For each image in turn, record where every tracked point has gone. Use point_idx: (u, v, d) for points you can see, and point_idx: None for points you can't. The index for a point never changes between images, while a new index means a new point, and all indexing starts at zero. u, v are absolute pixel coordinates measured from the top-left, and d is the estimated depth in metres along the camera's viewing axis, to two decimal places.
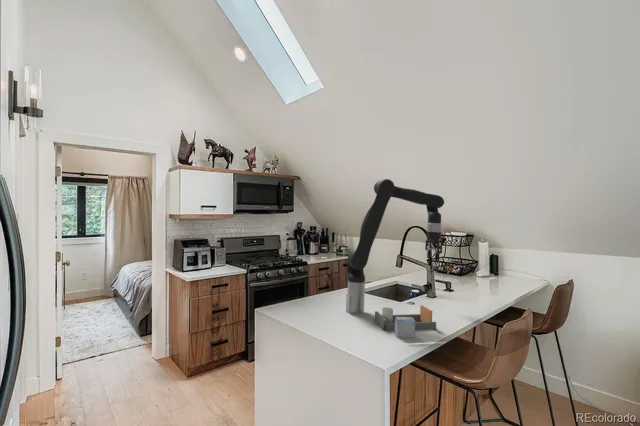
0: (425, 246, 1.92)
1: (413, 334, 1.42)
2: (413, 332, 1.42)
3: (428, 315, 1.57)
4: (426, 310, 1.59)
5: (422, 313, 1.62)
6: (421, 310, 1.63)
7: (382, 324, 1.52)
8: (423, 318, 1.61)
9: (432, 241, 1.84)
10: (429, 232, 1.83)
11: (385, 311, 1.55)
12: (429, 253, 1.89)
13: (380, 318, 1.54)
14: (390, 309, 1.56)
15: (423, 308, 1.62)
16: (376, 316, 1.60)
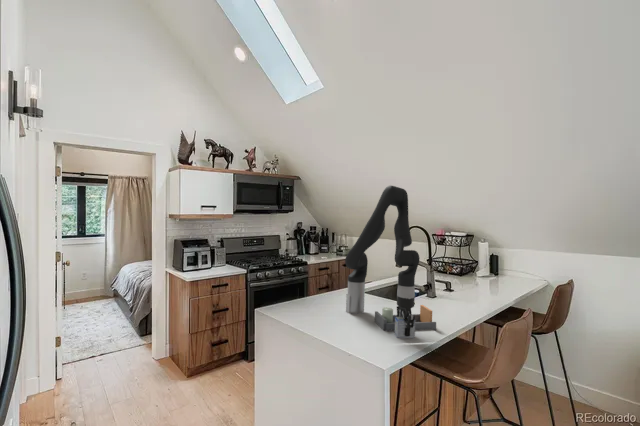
0: (397, 315, 1.50)
1: (413, 334, 1.42)
2: (413, 332, 1.42)
3: (428, 315, 1.57)
4: (426, 310, 1.59)
5: (422, 313, 1.62)
6: (421, 310, 1.63)
7: (382, 324, 1.52)
8: (423, 318, 1.61)
9: (403, 309, 1.43)
10: (399, 298, 1.42)
11: (385, 311, 1.55)
12: None
13: (380, 318, 1.54)
14: (390, 309, 1.56)
15: (423, 308, 1.62)
16: (376, 316, 1.60)
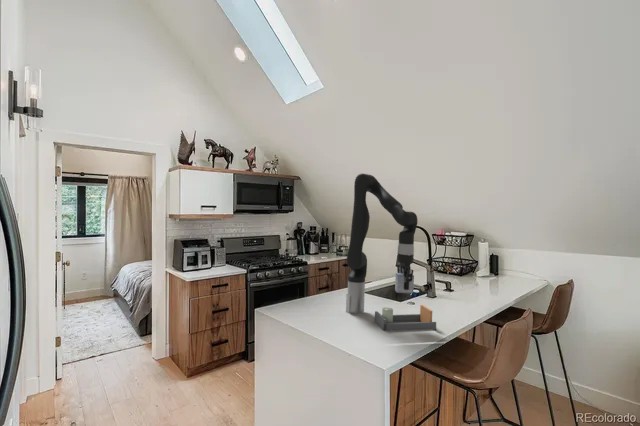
0: (397, 272, 1.63)
1: (412, 288, 1.55)
2: (412, 286, 1.55)
3: (428, 315, 1.57)
4: (426, 310, 1.59)
5: (422, 313, 1.62)
6: (421, 310, 1.63)
7: (382, 324, 1.52)
8: (423, 318, 1.61)
9: (403, 265, 1.56)
10: (399, 255, 1.55)
11: (385, 311, 1.55)
12: None
13: (380, 318, 1.54)
14: (390, 309, 1.56)
15: (423, 308, 1.62)
16: (376, 316, 1.60)
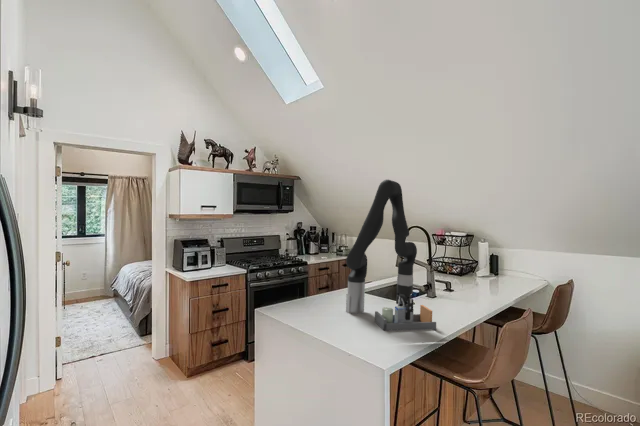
0: (396, 299, 1.65)
1: (411, 321, 1.56)
2: (411, 319, 1.56)
3: (428, 315, 1.57)
4: (426, 310, 1.59)
5: (422, 313, 1.62)
6: (421, 310, 1.63)
7: (382, 324, 1.52)
8: (423, 318, 1.61)
9: (403, 295, 1.57)
10: (399, 285, 1.56)
11: (385, 311, 1.55)
12: None
13: (380, 318, 1.54)
14: (390, 309, 1.56)
15: (423, 308, 1.62)
16: (376, 316, 1.60)
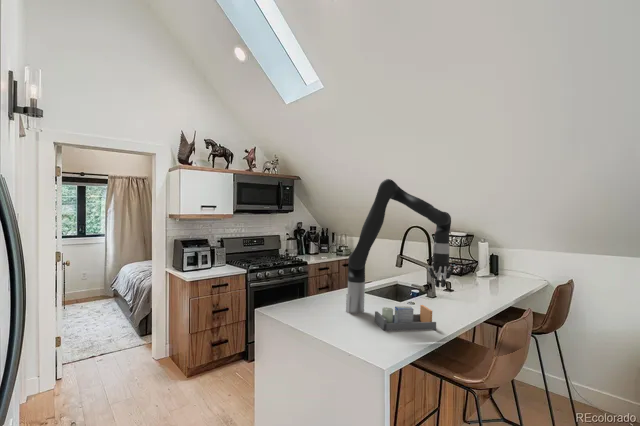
0: None
1: (411, 321, 1.56)
2: (411, 319, 1.56)
3: (428, 315, 1.57)
4: (426, 310, 1.59)
5: (422, 313, 1.62)
6: (421, 310, 1.63)
7: (382, 324, 1.52)
8: (423, 318, 1.61)
9: None
10: None
11: (385, 311, 1.55)
12: (442, 281, 1.61)
13: (380, 318, 1.54)
14: (390, 309, 1.56)
15: (423, 308, 1.62)
16: (376, 316, 1.60)
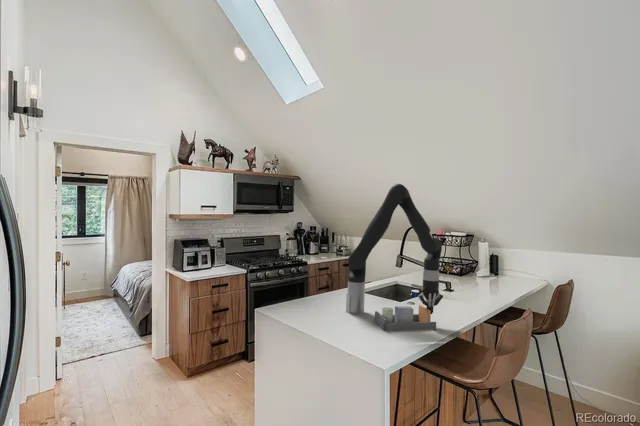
0: None
1: (411, 321, 1.56)
2: (411, 319, 1.56)
3: (426, 315, 1.56)
4: (424, 310, 1.58)
5: (420, 313, 1.62)
6: (420, 310, 1.63)
7: (382, 324, 1.52)
8: (421, 318, 1.61)
9: None
10: None
11: (385, 311, 1.55)
12: None
13: (380, 318, 1.54)
14: (390, 309, 1.56)
15: (421, 308, 1.61)
16: (376, 316, 1.60)
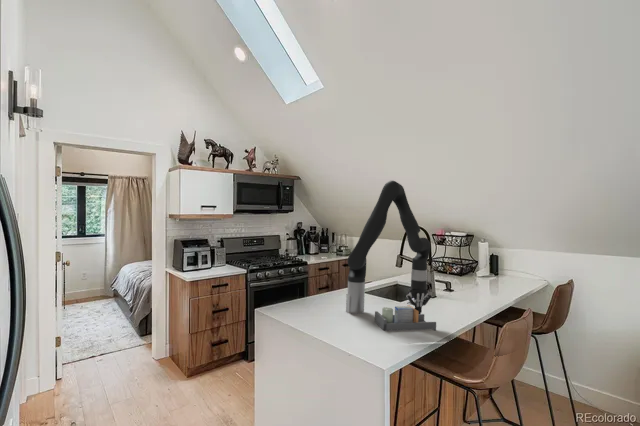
0: (424, 301, 1.61)
1: (411, 321, 1.56)
2: (411, 319, 1.56)
3: (414, 315, 1.55)
4: None
5: None
6: None
7: (382, 324, 1.52)
8: None
9: None
10: None
11: (385, 311, 1.55)
12: None
13: (380, 318, 1.54)
14: (390, 309, 1.56)
15: None
16: (376, 316, 1.60)
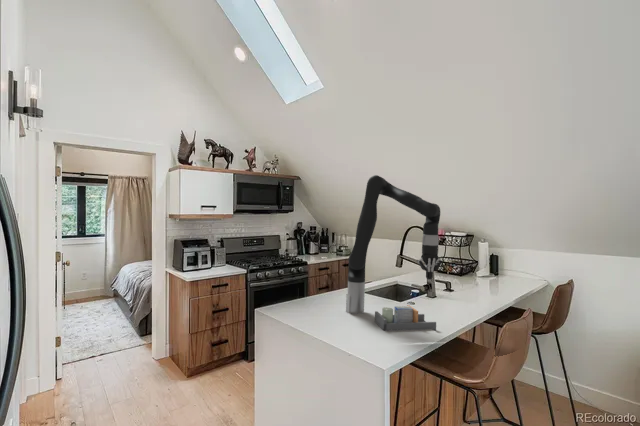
0: None
1: (411, 321, 1.56)
2: (411, 319, 1.56)
3: (414, 315, 1.55)
4: None
5: None
6: None
7: (382, 324, 1.52)
8: None
9: None
10: None
11: (385, 311, 1.55)
12: None
13: (380, 318, 1.54)
14: (390, 309, 1.56)
15: None
16: (376, 316, 1.60)
